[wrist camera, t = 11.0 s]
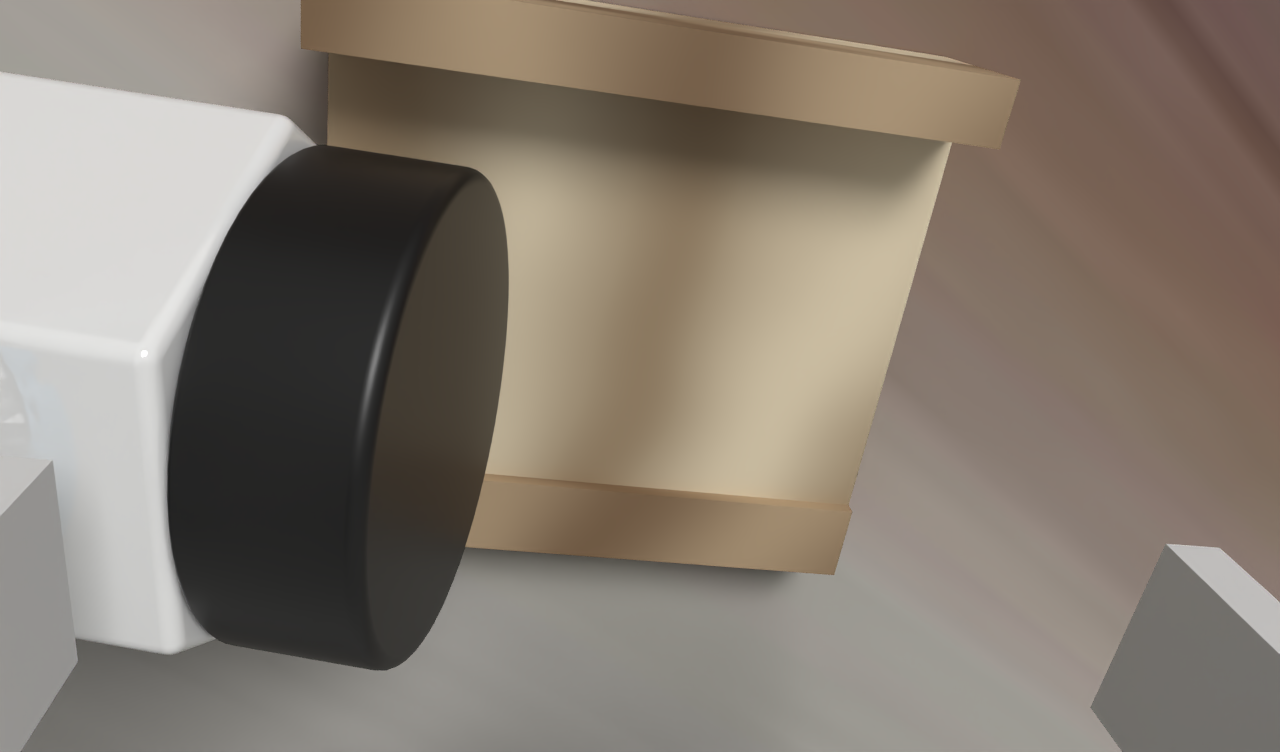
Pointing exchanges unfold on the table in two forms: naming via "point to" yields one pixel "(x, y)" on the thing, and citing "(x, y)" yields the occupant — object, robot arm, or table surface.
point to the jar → (245, 369)
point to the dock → (671, 254)
